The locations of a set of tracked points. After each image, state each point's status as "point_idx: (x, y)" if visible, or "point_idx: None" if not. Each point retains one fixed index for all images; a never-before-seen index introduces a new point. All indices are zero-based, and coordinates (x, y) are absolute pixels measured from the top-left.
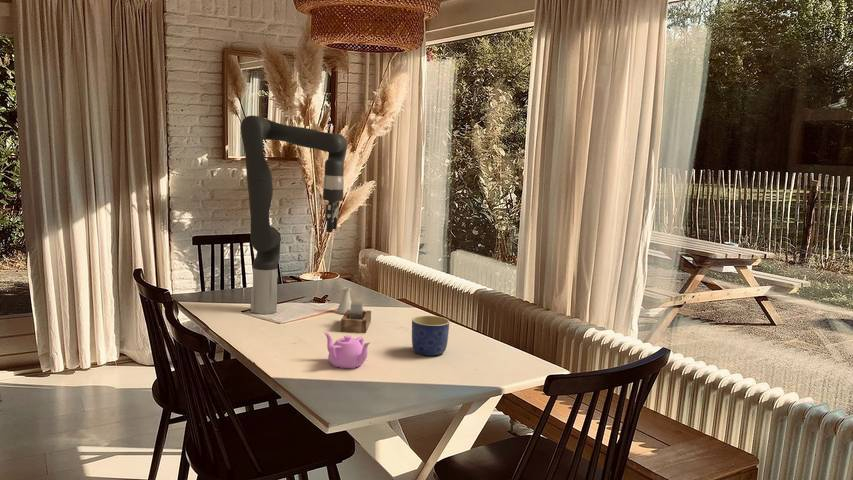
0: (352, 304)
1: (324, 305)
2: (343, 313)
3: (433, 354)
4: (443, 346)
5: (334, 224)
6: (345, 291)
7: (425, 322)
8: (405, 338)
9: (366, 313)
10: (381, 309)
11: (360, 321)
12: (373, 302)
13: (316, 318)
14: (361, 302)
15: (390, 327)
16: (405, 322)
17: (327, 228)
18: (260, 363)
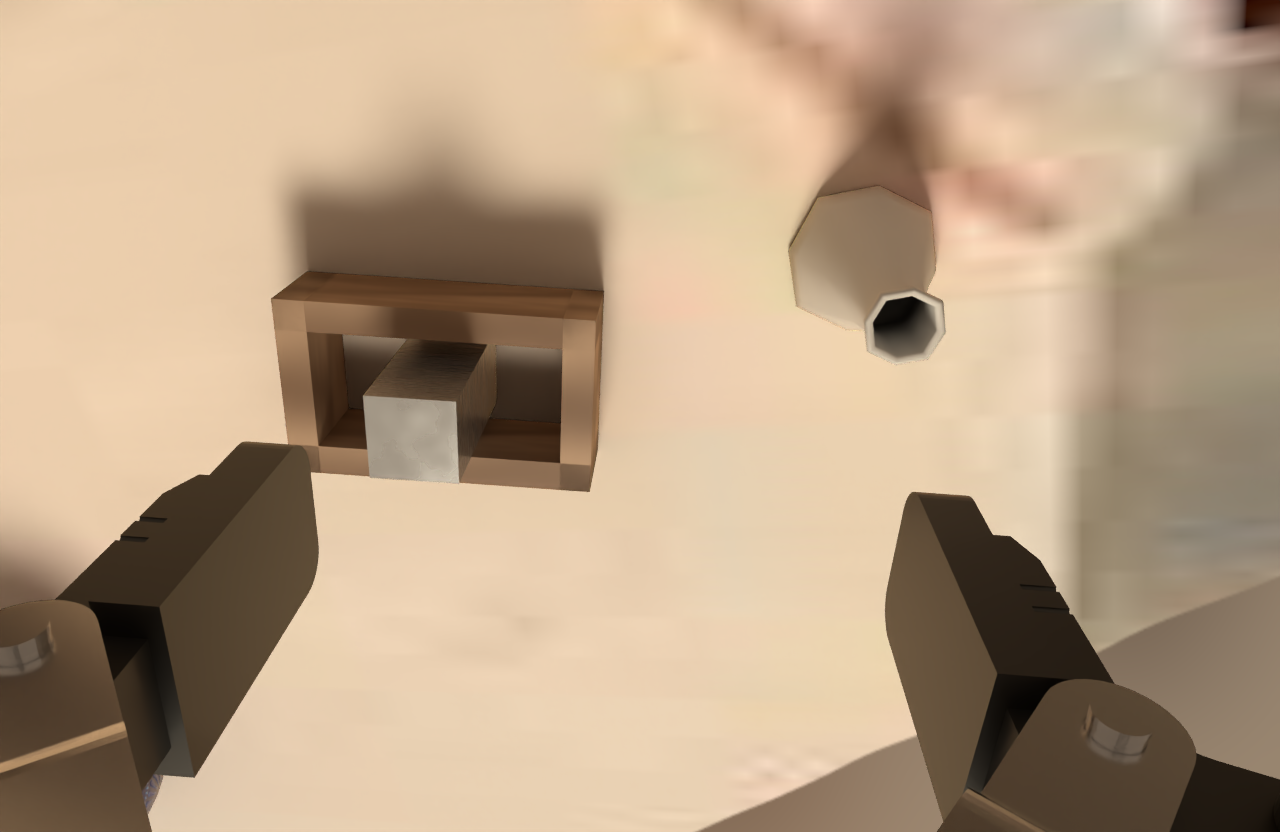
0: (364, 408)
1: (1115, 43)
2: (791, 249)
3: None
4: None
5: (925, 658)
6: (868, 310)
7: None
8: (292, 640)
9: (504, 463)
10: (981, 506)
11: (290, 432)
12: (1215, 445)
13: (637, 35)
14: (448, 472)
15: (504, 566)
16: (643, 645)
17: (143, 513)
18: None
